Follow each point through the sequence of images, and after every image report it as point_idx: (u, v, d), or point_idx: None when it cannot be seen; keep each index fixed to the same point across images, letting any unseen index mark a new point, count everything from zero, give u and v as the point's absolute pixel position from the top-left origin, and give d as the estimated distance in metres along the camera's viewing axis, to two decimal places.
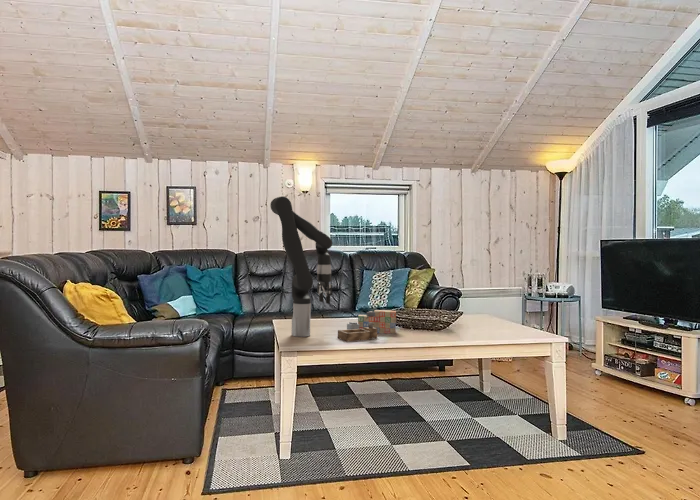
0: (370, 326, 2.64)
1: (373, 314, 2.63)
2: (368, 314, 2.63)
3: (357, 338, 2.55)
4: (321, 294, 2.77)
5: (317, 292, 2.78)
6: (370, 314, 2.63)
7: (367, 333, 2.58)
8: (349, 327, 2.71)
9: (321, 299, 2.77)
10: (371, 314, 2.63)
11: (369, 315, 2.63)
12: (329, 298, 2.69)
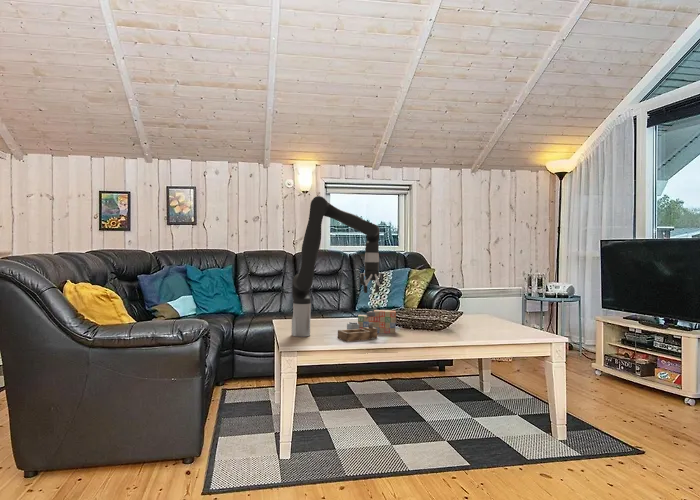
0: (370, 326, 2.64)
1: (373, 314, 2.63)
2: (368, 314, 2.63)
3: (357, 338, 2.55)
4: None
5: (363, 283, 2.61)
6: (370, 314, 2.63)
7: (367, 333, 2.58)
8: (349, 327, 2.71)
9: None
10: (371, 314, 2.63)
11: (369, 315, 2.63)
12: None
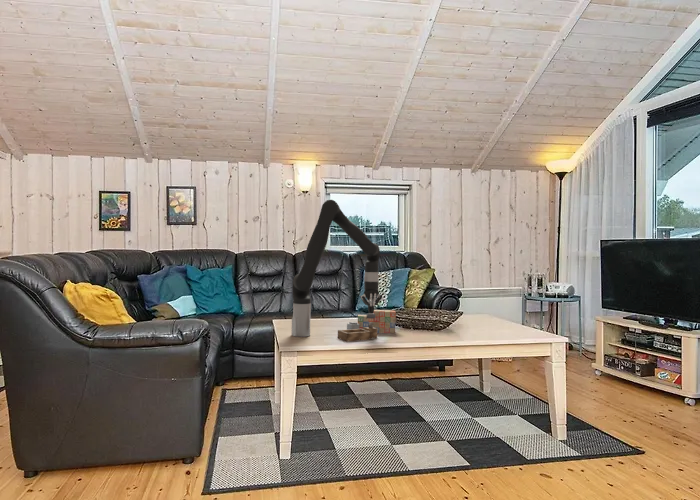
0: (370, 326, 2.64)
1: (373, 316, 2.63)
2: (368, 316, 2.63)
3: (357, 338, 2.55)
4: None
5: (368, 304, 2.63)
6: (370, 316, 2.63)
7: (367, 333, 2.58)
8: (349, 327, 2.71)
9: None
10: (371, 316, 2.63)
11: (369, 317, 2.63)
12: None
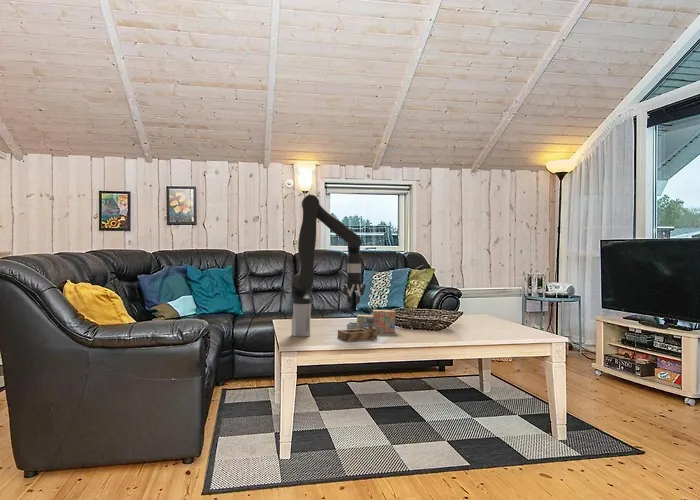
0: (370, 326, 2.64)
1: (373, 320, 2.63)
2: (368, 320, 2.63)
3: (357, 338, 2.55)
4: None
5: (347, 294, 2.69)
6: (370, 320, 2.63)
7: (367, 333, 2.58)
8: (349, 327, 2.71)
9: None
10: (371, 320, 2.63)
11: (369, 321, 2.63)
12: None
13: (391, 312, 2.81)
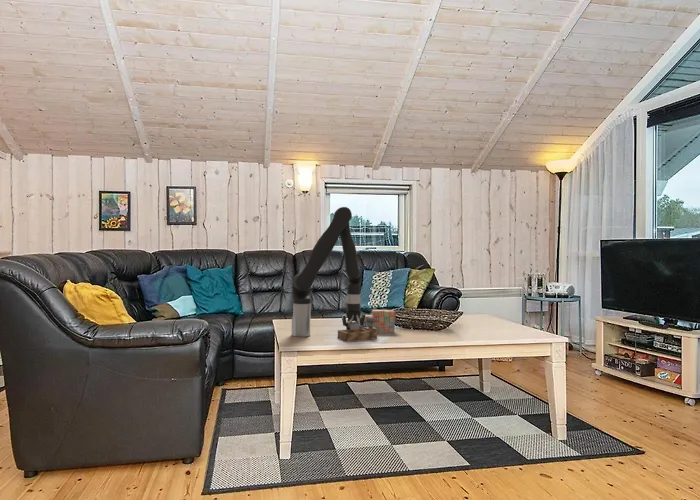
0: (370, 326, 2.64)
1: (373, 320, 2.63)
2: (368, 320, 2.63)
3: (357, 338, 2.55)
4: None
5: (346, 325, 2.69)
6: (370, 320, 2.63)
7: (367, 333, 2.58)
8: None
9: None
10: (371, 320, 2.63)
11: (369, 321, 2.63)
12: None
13: (391, 312, 2.82)
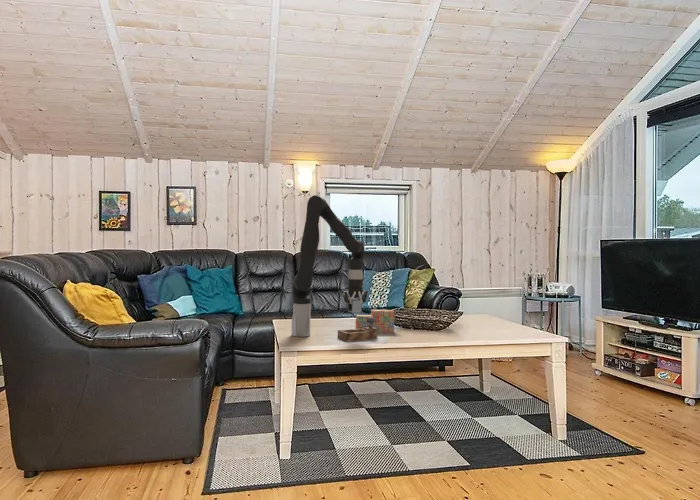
0: (370, 326, 2.64)
1: (373, 320, 2.63)
2: (368, 320, 2.63)
3: (357, 338, 2.55)
4: None
5: (348, 301, 2.57)
6: (370, 320, 2.63)
7: (367, 333, 2.58)
8: None
9: None
10: (371, 320, 2.63)
11: (369, 321, 2.63)
12: None
13: (390, 312, 2.82)
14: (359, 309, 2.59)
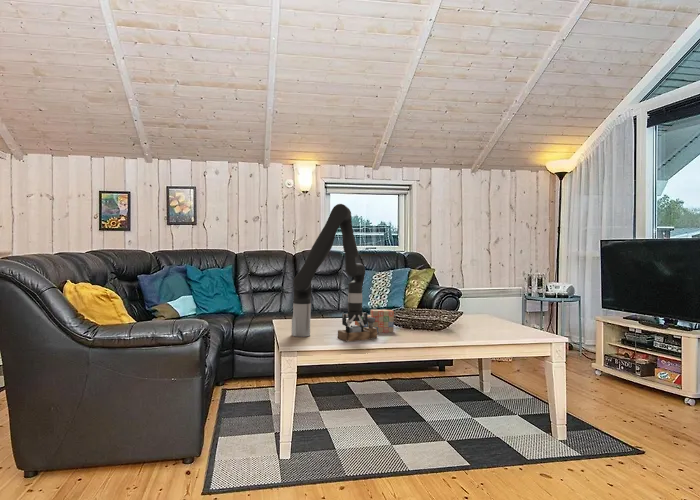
0: (370, 326, 2.64)
1: (373, 320, 2.63)
2: (368, 320, 2.63)
3: (357, 338, 2.55)
4: None
5: (345, 324, 2.56)
6: (370, 320, 2.63)
7: (367, 333, 2.58)
8: (350, 331, 2.59)
9: None
10: (371, 320, 2.63)
11: (369, 321, 2.63)
12: None
13: (390, 311, 2.83)
14: None
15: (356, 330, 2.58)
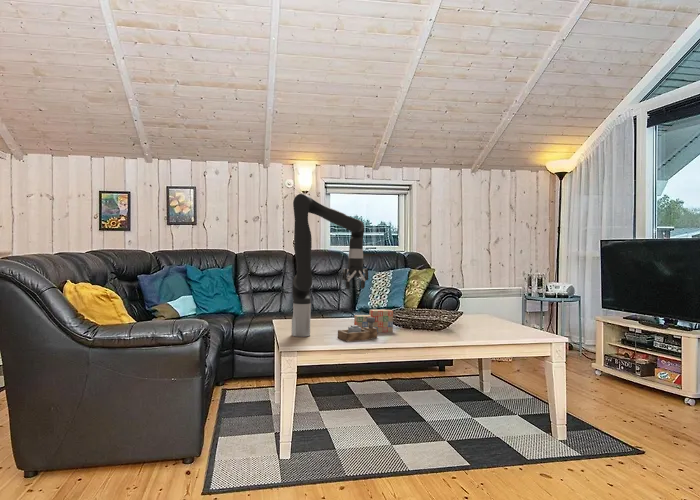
0: (370, 326, 2.64)
1: (373, 320, 2.63)
2: (368, 320, 2.63)
3: (357, 338, 2.55)
4: None
5: (345, 279, 2.56)
6: (370, 320, 2.63)
7: (367, 333, 2.58)
8: (350, 331, 2.59)
9: None
10: (371, 320, 2.63)
11: (369, 321, 2.63)
12: None
13: (389, 311, 2.84)
14: None
15: (356, 330, 2.58)
